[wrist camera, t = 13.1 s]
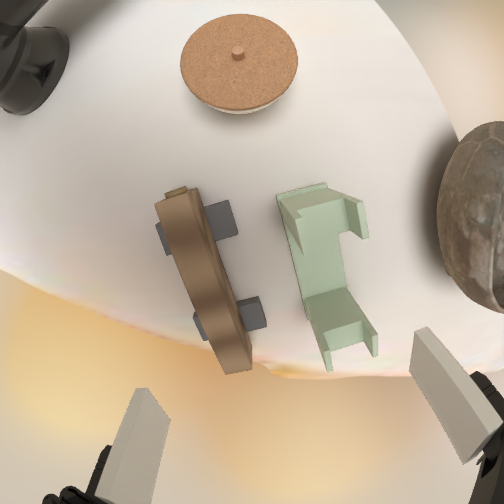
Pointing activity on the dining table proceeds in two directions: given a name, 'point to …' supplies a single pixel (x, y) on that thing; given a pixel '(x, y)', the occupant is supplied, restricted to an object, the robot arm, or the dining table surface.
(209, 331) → the rail
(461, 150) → the bowl
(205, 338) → the rests
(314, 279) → the rack
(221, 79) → the lidded jar
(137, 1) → the dining table surface
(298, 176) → the dining table surface
